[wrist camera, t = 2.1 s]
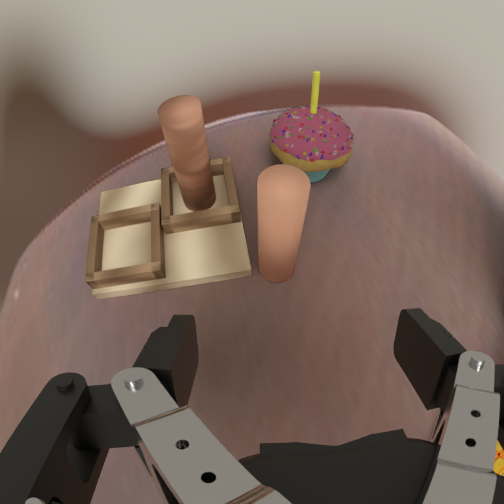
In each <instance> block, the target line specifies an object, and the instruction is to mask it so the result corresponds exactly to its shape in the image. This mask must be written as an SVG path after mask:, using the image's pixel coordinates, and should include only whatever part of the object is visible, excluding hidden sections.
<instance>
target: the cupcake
mask: <svg viewBox="0 0 504 504" xmlns="http://www.w3.org/2000/svg"><path fill="white" fill-rule="evenodd" d="M319 82H320V72H319V71H318V63H316V71H313V83H312V95H311V105H308V106H300V107H299V106H296V107H294V108H292V109H291V108H290V109H289V110H287V111H284V113H282V114H281V115H280V116H279V115H278V117H277V119H276V120H275V119H274V121H273V122H274V123H273V124H272V128H271V131H270V143H271V150H272V152H273V153H274V154H275V155H276V156H277V157H278V158H279V160H280V161H281V162H282V163H283V164H287V165H292V166H295V167H297V168H299V169H301V170H302V171H303V172H305V173H306V175H307V176H308V177H309V180H310V183H311V182H317V181H319V180H321V179H323V178H324V177H325V176H326V175H327V173H328V172H329V170H330V169H331V168H339V167H341V166H342V165H344V164H345V163H346V162H347V161H348V159H349V157H350V155H351V153H352V147H353V144H354V142H353V136H354V134H353V133H351V131H350V128H349V127H348V125H347V123H346V122H345V121H343V119H341V117H340V116H339V115H338V116H337V115H336V114H334V112H333V111H332V112H331V111H329V110H327V109H326V108H320V107H317V105H318V93H319Z"/></svg>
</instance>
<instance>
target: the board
mask: <svg viewBox="0 0 504 504" xmlns="http://www.w3.org/2000/svg"><path fill="white" fill-rule="evenodd" d="M158 115H159V119H160V122H161V125H162V130H163V133H164V137H165V140H166V144H167V147H168V151H169V154H170V158H171V161H172V165H173V167H168V168H163V169H161V179H159V180H154V181H149V182H145V183H140V184H135V185H130V186H126V187H121V188H117V189H112V190H108V191H104V192H102V193H101V200H100V207H99V215H96V216H92V220H91V228H90V237H89V247H88V258H87V270H86V283H87V284H88V285H90V286H91V287H92V288H93V293H92V295H94V296H95V297H96V298H97V299H105V298H112V297H119V296H126V295H132V294H139V293H146V292H152V291H159V290H166V289H172V288H179V287H185V286H191V285H198V284H204V283H210V282H216V281H222V280H229V279H235V278H241V277H247V276H252V271H251V265H250V260H249V255H248V249H247V244H246V239H245V234H244V229H243V224H242V219H241V213H240V208H239V203H238V198H237V193H236V187H235V182H234V177H233V172H232V167H231V162H230V157H226V158H219V159H213V160H210V157H209V151H208V145H207V139H206V133H205V127H204V121H203V115H202V108H201V103H200V100H199V99H198V98H196V97H194V96H189V95H183V96H182V95H181V96H176V97H173V98H170V99H168V100H166V101H165V102H164V103H162V104H161V106H160V107H159V109H158Z"/></svg>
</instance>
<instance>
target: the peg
mask: <svg viewBox="0 0 504 504" xmlns="http://www.w3.org/2000/svg"><path fill="white" fill-rule="evenodd" d="M310 188H311V184H310V180H309V177H308V176H307V175H306V173H305V172H303V171H302V170H301V169H299V168H297V167H295V166H292V165H287V164H278V165H273V166H270V167H268V168H266V169H265V170H264V171H262V172H261V174H260V175H259V177H258V181H257V198H258V268H259V272H260V274H261V276H262V277H263V278H264V279H266V280H267V281H270V282H273V283H281V282H284V281H286V280H288V279H289V278H290V277H291V276H292V274H293V272H294V269H295V264H296V259H297V254H298V250H299V245H300V240H301V235H302V230H303V225H304V219H305V214H306V209H307V204H308V198H309V193H310Z"/></svg>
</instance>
